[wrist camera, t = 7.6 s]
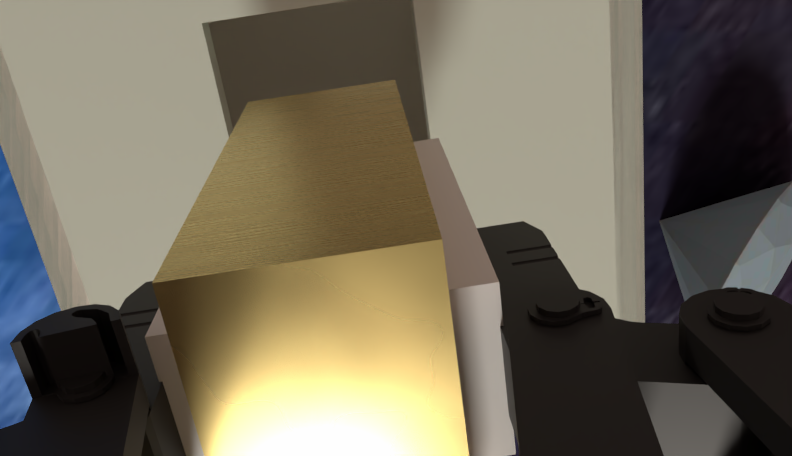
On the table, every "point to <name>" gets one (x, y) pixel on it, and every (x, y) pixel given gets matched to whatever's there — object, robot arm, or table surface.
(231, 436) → the tan rectangular block
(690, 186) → the table surface
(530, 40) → the coin box
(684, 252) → the gemstone
